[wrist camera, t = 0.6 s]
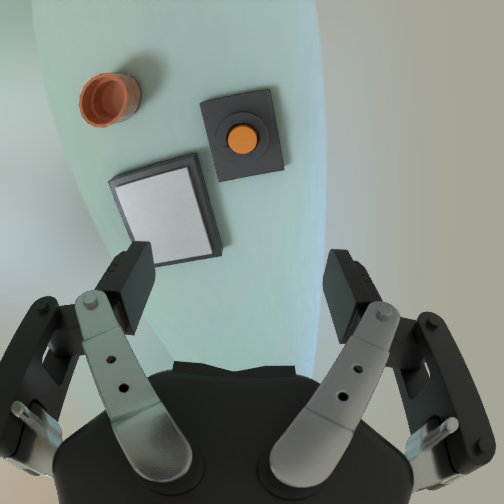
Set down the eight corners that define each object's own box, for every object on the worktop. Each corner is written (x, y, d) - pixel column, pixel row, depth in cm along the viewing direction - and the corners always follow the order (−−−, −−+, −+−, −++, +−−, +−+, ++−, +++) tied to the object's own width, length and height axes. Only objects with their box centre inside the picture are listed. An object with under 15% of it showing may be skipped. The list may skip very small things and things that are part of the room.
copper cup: (93, 85, 27) (74, 87, 23) (135, 66, 26) (120, 64, 22) (104, 128, 30) (86, 135, 26) (147, 112, 29) (133, 116, 26)
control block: (201, 102, 29) (196, 103, 27) (268, 89, 29) (270, 88, 26) (219, 179, 35) (217, 186, 32) (283, 167, 34) (286, 174, 31)
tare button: (226, 127, 29) (225, 129, 27) (253, 122, 28) (254, 124, 27) (232, 153, 30) (231, 156, 29) (258, 147, 30) (259, 151, 28)
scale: (114, 176, 34) (105, 183, 32) (196, 152, 33) (192, 157, 30) (147, 261, 41) (142, 271, 39) (223, 248, 40) (221, 258, 38)
